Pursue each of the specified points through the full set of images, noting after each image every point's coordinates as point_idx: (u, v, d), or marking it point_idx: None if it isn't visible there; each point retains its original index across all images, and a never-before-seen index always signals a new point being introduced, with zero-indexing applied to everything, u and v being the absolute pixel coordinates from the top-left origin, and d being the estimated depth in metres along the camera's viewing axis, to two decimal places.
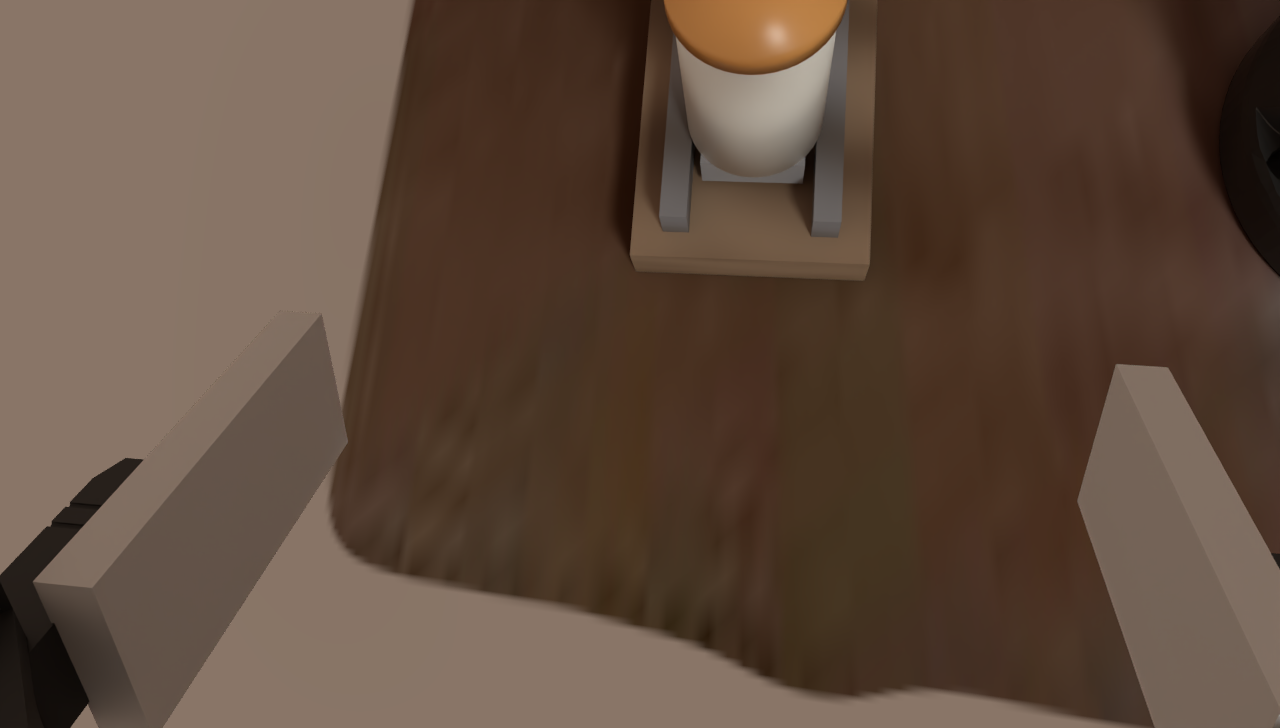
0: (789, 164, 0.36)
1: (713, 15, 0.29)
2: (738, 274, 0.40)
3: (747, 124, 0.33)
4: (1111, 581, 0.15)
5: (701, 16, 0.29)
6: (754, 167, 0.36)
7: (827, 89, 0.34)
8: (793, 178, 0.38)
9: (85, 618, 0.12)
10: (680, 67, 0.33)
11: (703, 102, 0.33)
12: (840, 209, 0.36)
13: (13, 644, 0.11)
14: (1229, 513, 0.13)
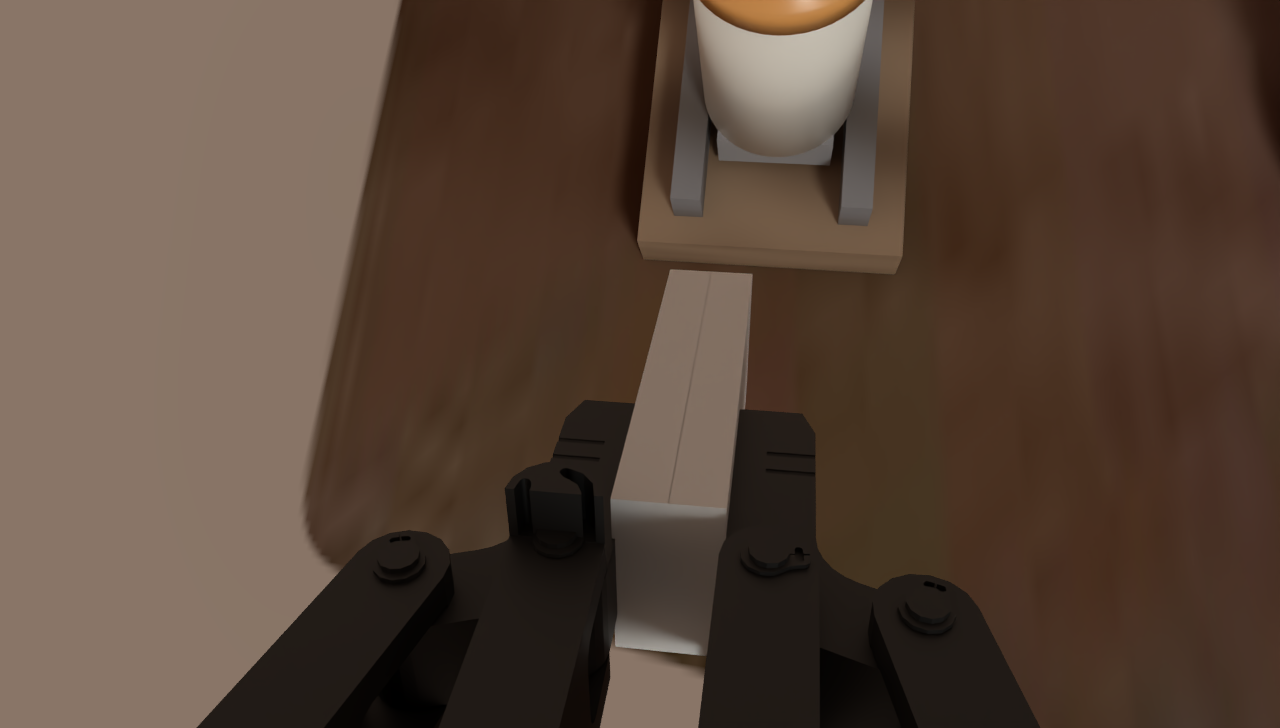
0: (816, 143, 0.33)
1: None
2: (756, 264, 0.36)
3: (771, 95, 0.29)
4: None
5: None
6: (777, 145, 0.32)
7: (861, 58, 0.31)
8: (819, 159, 0.34)
9: (648, 533, 0.13)
10: (697, 29, 0.29)
11: (722, 69, 0.29)
12: (871, 194, 0.33)
13: (593, 578, 0.12)
14: (726, 375, 0.15)
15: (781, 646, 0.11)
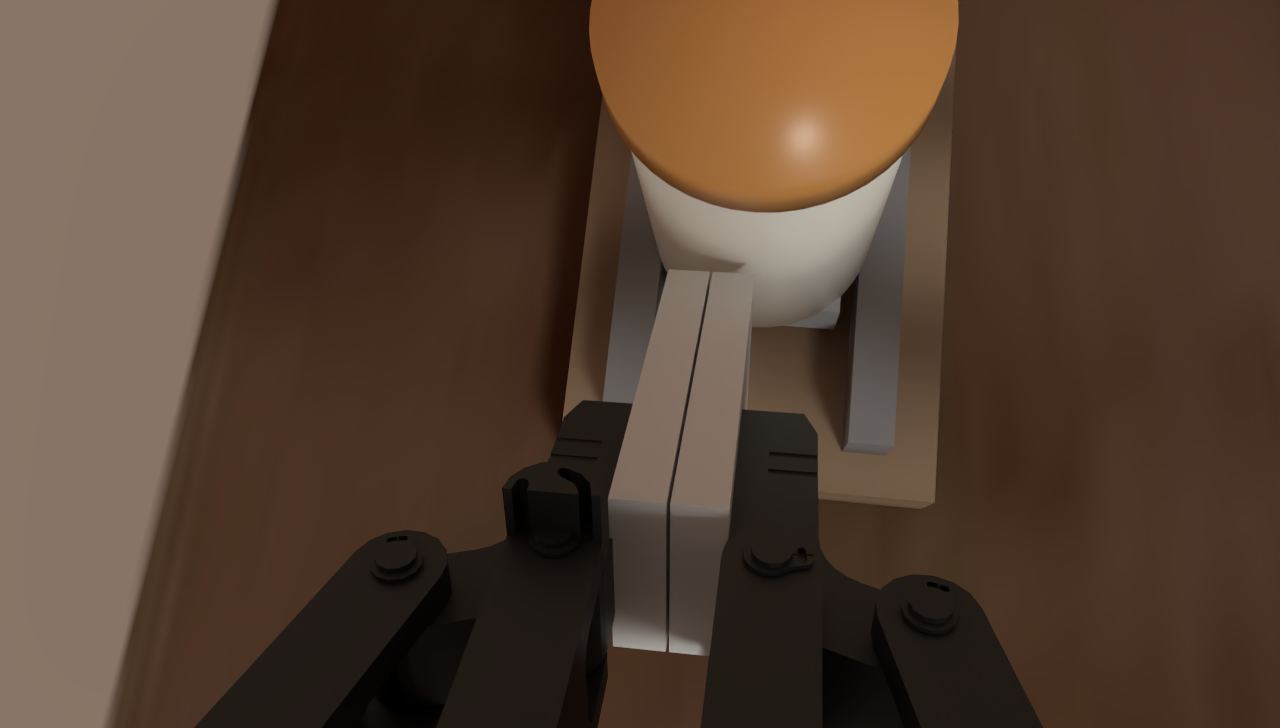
0: (816, 311, 0.23)
1: (686, 100, 0.15)
2: None
3: (749, 270, 0.19)
4: None
5: (663, 100, 0.15)
6: (758, 317, 0.22)
7: None
8: (820, 323, 0.24)
9: (646, 533, 0.13)
10: None
11: (673, 231, 0.19)
12: (892, 424, 0.22)
13: (590, 578, 0.12)
14: (728, 375, 0.15)
15: (784, 646, 0.11)
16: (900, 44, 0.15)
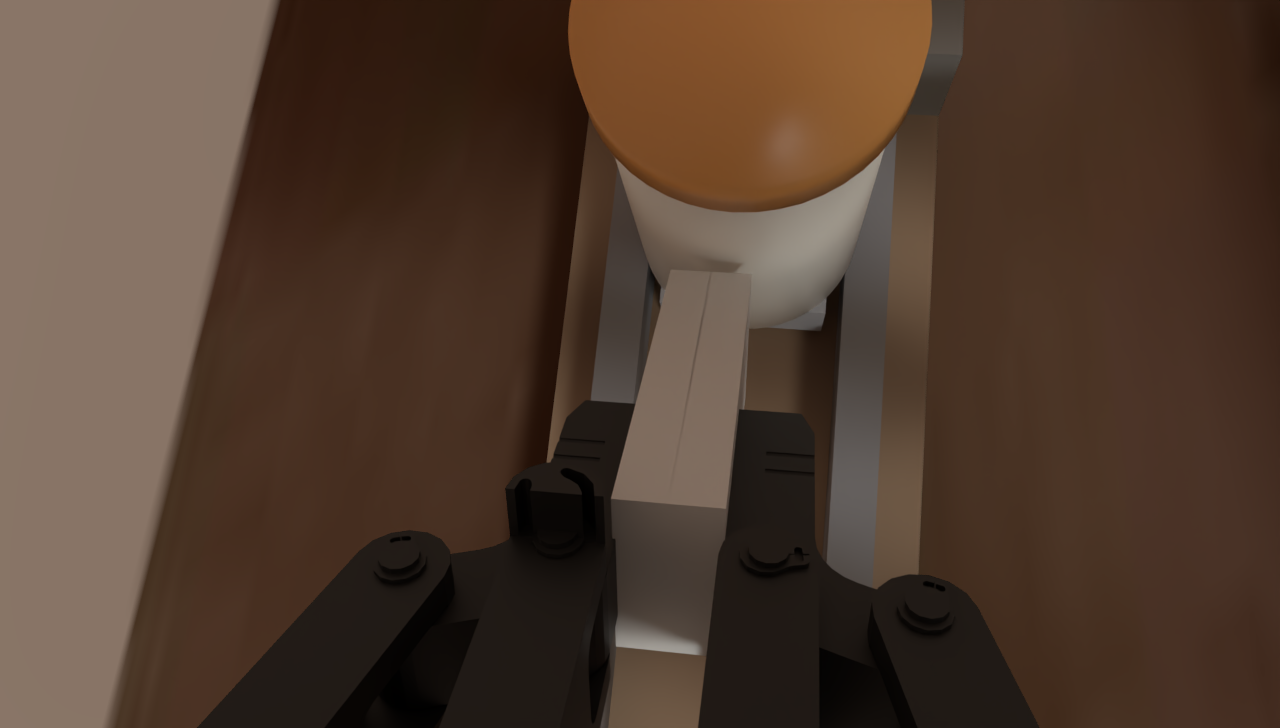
0: (801, 312, 0.23)
1: (663, 101, 0.15)
2: None
3: (731, 270, 0.19)
4: None
5: (642, 102, 0.15)
6: None
7: None
8: (806, 325, 0.24)
9: (649, 533, 0.13)
10: None
11: (656, 232, 0.19)
12: None
13: (593, 578, 0.12)
14: (725, 375, 0.15)
15: (780, 646, 0.11)
16: (874, 45, 0.15)
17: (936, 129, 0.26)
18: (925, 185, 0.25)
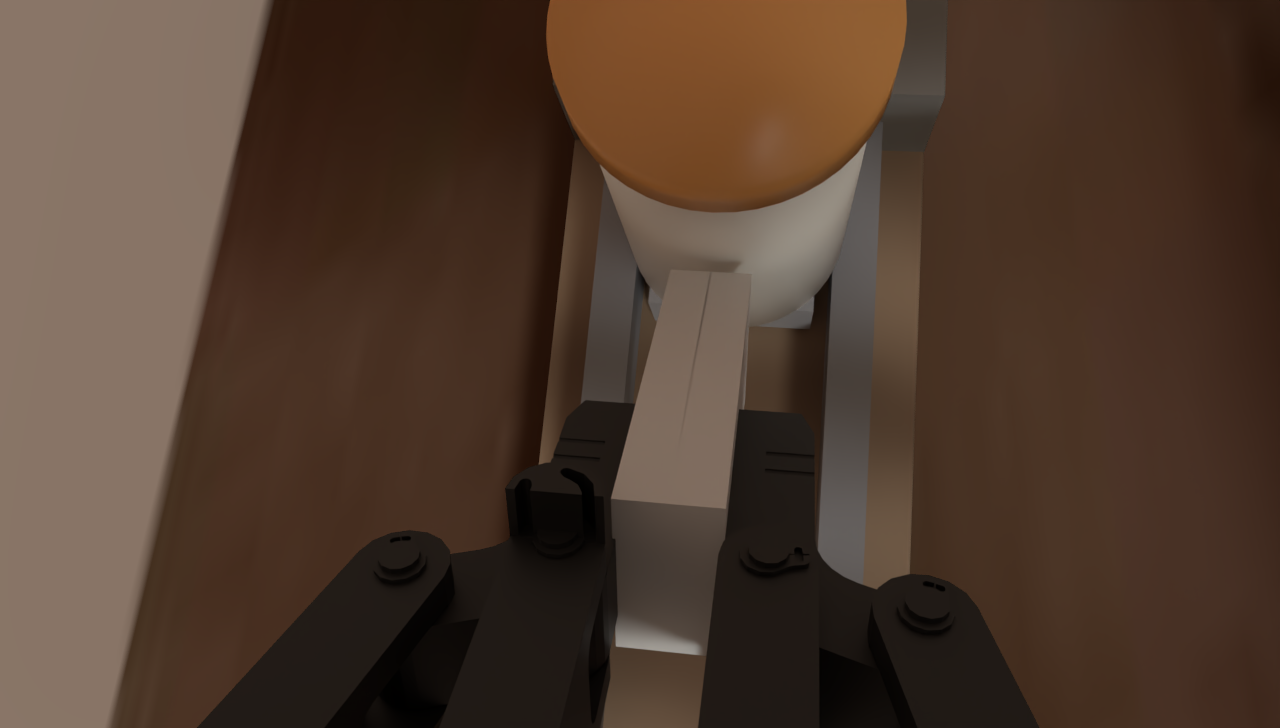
0: (789, 310, 0.23)
1: (641, 103, 0.15)
2: None
3: (716, 270, 0.19)
4: None
5: (619, 105, 0.15)
6: None
7: None
8: (795, 323, 0.24)
9: (649, 533, 0.13)
10: None
11: (640, 233, 0.19)
12: None
13: (593, 578, 0.12)
14: (725, 375, 0.15)
15: (780, 646, 0.11)
16: (850, 45, 0.15)
17: (921, 166, 0.25)
18: (911, 222, 0.25)
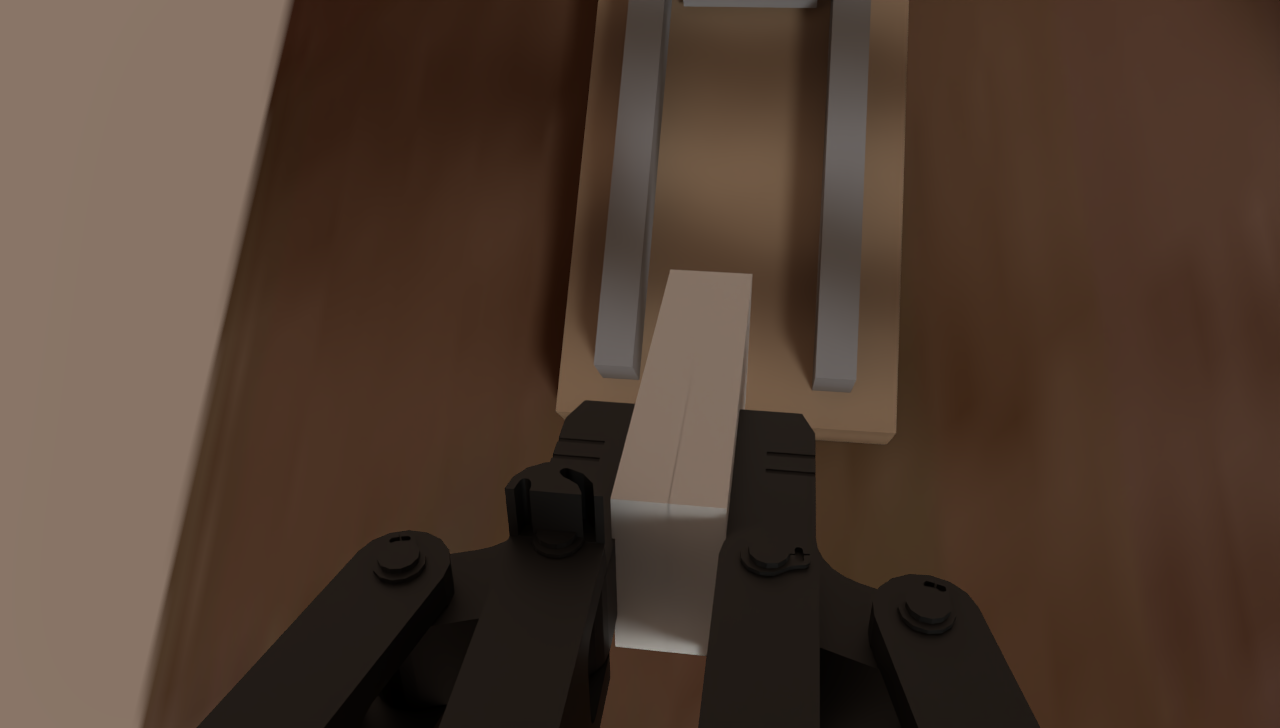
0: None
1: None
2: None
3: None
4: None
5: None
6: None
7: None
8: None
9: (648, 533, 0.13)
10: None
11: None
12: (854, 360, 0.25)
13: (593, 578, 0.12)
14: (726, 375, 0.15)
15: (781, 646, 0.11)
16: None
17: None
18: None
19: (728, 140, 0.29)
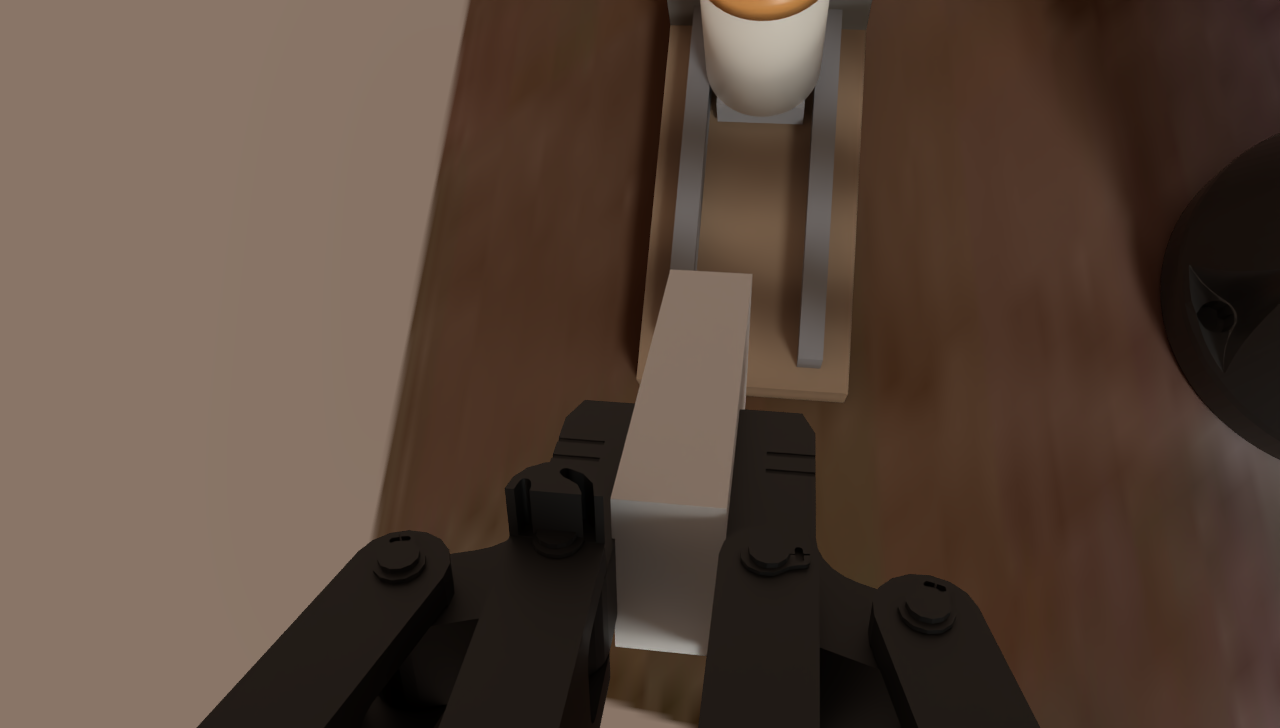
0: (791, 105, 0.43)
1: None
2: None
3: (757, 66, 0.40)
4: None
5: None
6: (762, 107, 0.43)
7: (823, 40, 0.41)
8: (794, 119, 0.45)
9: (649, 533, 0.13)
10: (702, 19, 0.40)
11: (721, 48, 0.40)
12: (822, 348, 0.41)
13: (593, 579, 0.12)
14: (726, 375, 0.15)
15: (781, 646, 0.11)
16: None
17: (864, 37, 0.46)
18: (858, 67, 0.46)
19: (745, 208, 0.45)
